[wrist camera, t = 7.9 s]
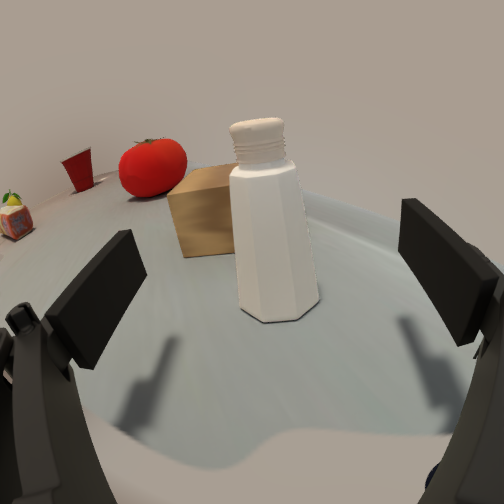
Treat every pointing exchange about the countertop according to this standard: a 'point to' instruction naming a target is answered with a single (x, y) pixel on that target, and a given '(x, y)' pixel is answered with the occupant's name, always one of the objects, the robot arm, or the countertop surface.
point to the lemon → (12, 200)
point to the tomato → (152, 167)
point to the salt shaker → (269, 225)
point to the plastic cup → (80, 169)
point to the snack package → (15, 221)
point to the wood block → (204, 211)
